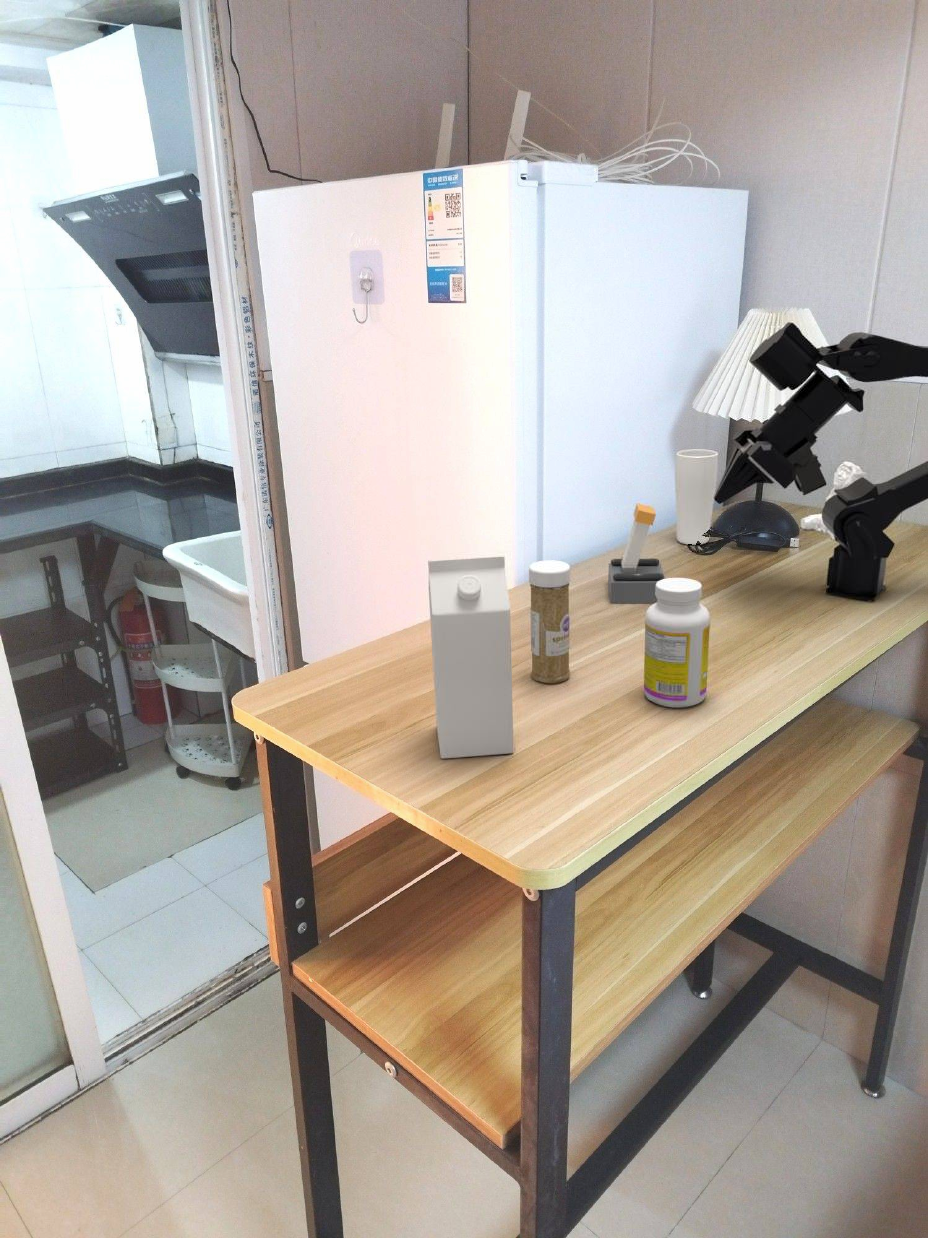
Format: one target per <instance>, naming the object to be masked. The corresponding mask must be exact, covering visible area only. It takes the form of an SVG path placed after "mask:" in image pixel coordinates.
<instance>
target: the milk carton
mask: <svg viewBox="0 0 928 1238" xmlns="http://www.w3.org/2000/svg"><path fill="white" fill-rule="evenodd" d="M427 563H428V564H427V565H428V566H427V567H428V598H429V599H428V600H429V613H430V614H429V617H430V620H429V621H430V632H431V634H430V635H431V636H430V637H431V652H432V667H433V669H432V670H433V671H432V672H433V686H434V703H435V705H434V707H435V719H436V722H435V723H436V728H437V729H436V730H437V739H438V746H439V755H440V758H441V759H453V758H454V759H455V758H466V757H467V758H468V757H479V756H480V757H481V756H493V755H505V754H507V755H508V754H513V753H514V720H513V719H514V718H513V717H514V715H513V711H514V710H513V678H512V676H513V675H512V674H513V673H512V672H513V671H512V669H513V668H512V639H511V638H512V637H511V636H512V635H511V633H512V632H511V628H512V627H511V626H512V625H511V605H510V597H509V589H508V581H507V576H506V575H507V574H506V569H505V568H506V567H505V566H506V565H505V563H506V561H505V556H504V555H497V556H496V555H495V556H481V557H465V558H464V557H463V558H451V559H450V558H449V559H436V560H434V559H433V560H432V559H431V560H428V562H427Z"/></svg>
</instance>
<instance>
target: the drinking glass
mask: <svg viewBox="0 0 928 1238" xmlns="http://www.w3.org/2000/svg"><path fill="white" fill-rule="evenodd" d="M674 465H675V468H674V469H675V471H674V486H675V487H674V488H675V510H676V513H675V514H676V540H677V542H679V543H680V544H684V545H688V544H692V545H691V546H697V545H696V543H697V541H699V542H700V543H701V544H700V545H704V544H706V543H708V542H709V540H710V536H709V537H705V536H702V535H703V534H704V533H706V532H707V531H708V530H709V529H710V530H711V523H712V516H713V509H714V503H715V502H714V501H715V500H714V496H715V494H716V491H717V489H716V488H717V481H718V472H719V469H718V468H719V453H718V452H717V451H715V450H709V449H697V448H696V449H684V450H679V451H677V452H676V455H675V464H674ZM688 546H689V545H688Z"/></svg>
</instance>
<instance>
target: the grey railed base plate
mask: <svg viewBox="0 0 928 1238" xmlns="http://www.w3.org/2000/svg"><path fill="white" fill-rule="evenodd" d="M622 559H623V556H621V557H620V558H612V559H611V560H610V562H609V563H608V576H607V577H608V584H607V585H608V590H609V599H610V600H609V601H610V604H655V603H657V600H658V599H657V598H656V595H655V590H656V583H657V582H658V581H660V580H663V579H666V577H665V573H664V570H663V567H662V564H661V563H660V559H658V558H639V561H638V564H637V568H636V571H635V566H623V569H622V563H621V562H622Z"/></svg>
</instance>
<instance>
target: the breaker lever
mask: <svg viewBox="0 0 928 1238" xmlns="http://www.w3.org/2000/svg"><path fill="white" fill-rule="evenodd" d="M655 510H656V509H655V508H654V507H653V506H650V505H645V504H641V503H638V502H637V503H636V505H635V508H634V510H633V517H634V520H633V523H632V526H631V530H630V533H629V536H628V540H627V543H626V546H625V549H624V553H623V556H622V557H623V559H622V562H621V563H622V569H623V566H635V571H636V568H637V564H638V561H639V559H641V554H642V551H643V548H644V545H645V542H646V538H647V536H648V532H649V529H650V526H653V525H654V521H655V519H656V515H657V514H656V511H655Z"/></svg>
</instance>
